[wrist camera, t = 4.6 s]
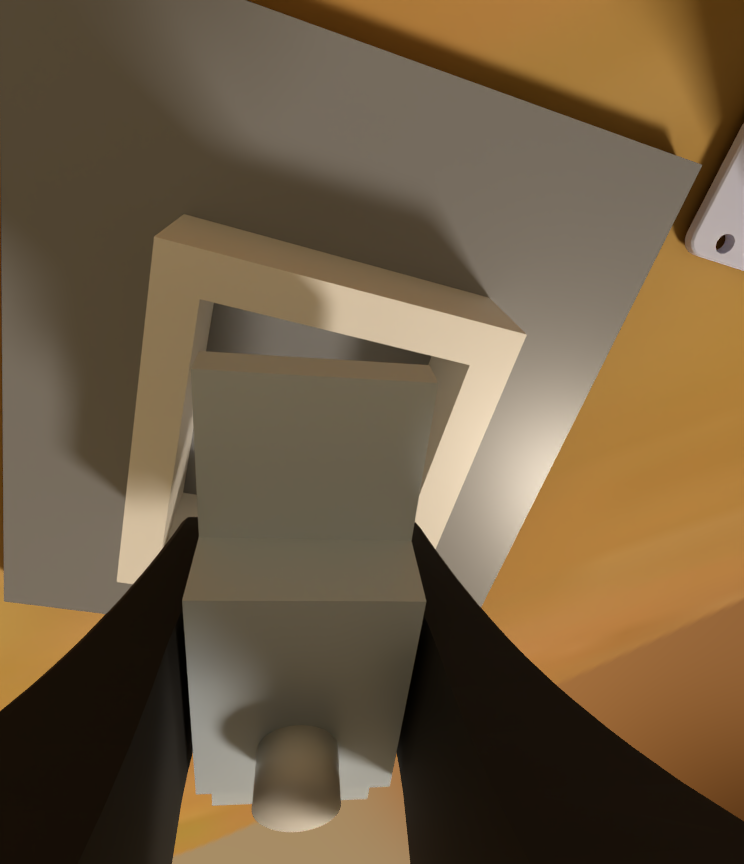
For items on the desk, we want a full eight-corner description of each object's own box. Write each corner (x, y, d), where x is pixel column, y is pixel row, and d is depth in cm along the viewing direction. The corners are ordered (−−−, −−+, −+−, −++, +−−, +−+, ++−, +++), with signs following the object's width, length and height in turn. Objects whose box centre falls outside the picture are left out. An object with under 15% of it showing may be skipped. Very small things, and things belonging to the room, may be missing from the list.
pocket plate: (679, 162, 15) (791, 175, 12) (450, 637, 23) (475, 730, 19) (21, -74, 12) (-102, -157, 8) (17, 579, 20) (-46, 679, 16)
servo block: (398, 302, 10) (480, 468, 5) (354, 651, 14) (377, 922, 10) (227, 290, 10) (148, 456, 5) (233, 652, 14) (194, 935, 9)
